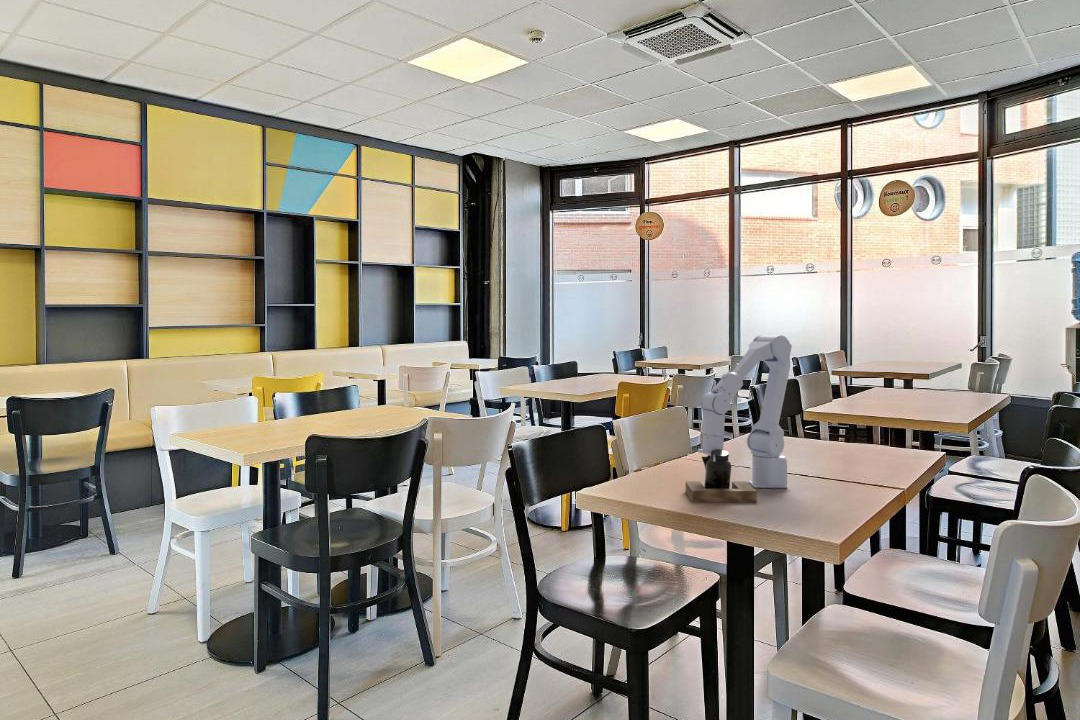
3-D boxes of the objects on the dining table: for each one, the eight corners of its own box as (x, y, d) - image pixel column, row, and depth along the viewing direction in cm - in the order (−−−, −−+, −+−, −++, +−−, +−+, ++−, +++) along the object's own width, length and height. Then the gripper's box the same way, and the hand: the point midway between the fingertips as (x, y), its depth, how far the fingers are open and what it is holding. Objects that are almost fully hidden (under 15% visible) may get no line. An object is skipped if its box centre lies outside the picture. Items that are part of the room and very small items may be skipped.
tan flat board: (746, 492, 197) (746, 481, 197) (756, 502, 186) (756, 491, 185) (685, 491, 198) (685, 481, 198) (692, 501, 187) (692, 490, 186)
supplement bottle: (732, 497, 192) (736, 457, 189) (708, 498, 192) (711, 458, 188) (724, 485, 199) (727, 446, 195) (700, 486, 198) (703, 447, 195)
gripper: (695, 430, 205) (693, 476, 205) (703, 438, 190) (701, 487, 191) (719, 431, 204) (717, 477, 205) (729, 439, 190) (727, 488, 191)
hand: (711, 482), depth 198 cm, fingers closed, pressing on supplement bottle
